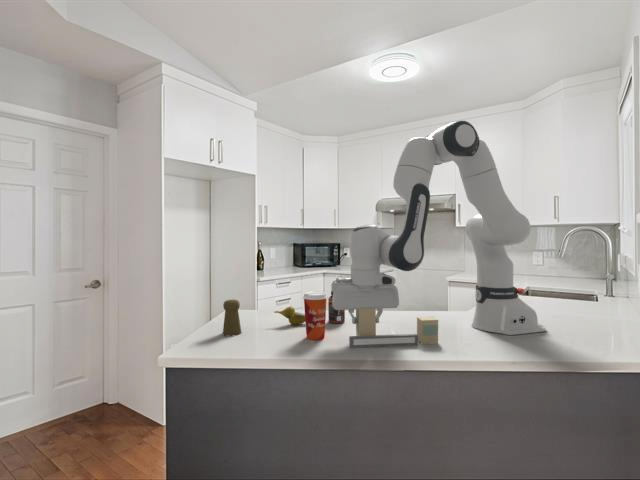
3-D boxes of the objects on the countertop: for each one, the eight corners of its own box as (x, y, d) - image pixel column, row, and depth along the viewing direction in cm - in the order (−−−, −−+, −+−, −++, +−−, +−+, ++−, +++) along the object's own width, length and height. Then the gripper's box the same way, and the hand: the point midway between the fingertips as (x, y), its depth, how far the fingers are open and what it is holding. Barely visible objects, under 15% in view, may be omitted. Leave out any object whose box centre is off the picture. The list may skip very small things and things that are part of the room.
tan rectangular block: (372, 336, 117) (371, 305, 117) (375, 341, 112) (375, 308, 112) (355, 337, 117) (355, 305, 116) (358, 342, 112) (358, 309, 111)
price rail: (416, 343, 110) (416, 333, 110) (418, 345, 108) (418, 335, 108) (349, 346, 108) (349, 336, 108) (350, 348, 107) (350, 337, 107)
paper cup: (309, 342, 112) (309, 296, 111) (299, 336, 119) (298, 292, 118) (332, 338, 115) (332, 293, 115) (321, 332, 122) (320, 290, 122)
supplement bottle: (343, 324, 132) (343, 292, 132) (327, 323, 133) (326, 292, 133) (345, 320, 138) (345, 289, 138) (330, 319, 139) (329, 289, 139)
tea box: (432, 339, 114) (432, 316, 114) (438, 343, 110) (438, 320, 110) (417, 339, 114) (417, 317, 113) (421, 344, 110) (421, 320, 109)
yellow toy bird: (274, 324, 134) (273, 306, 133) (315, 322, 136) (315, 304, 135) (274, 327, 129) (274, 308, 129) (317, 325, 131) (317, 306, 131)
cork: (245, 331, 124) (244, 299, 124) (233, 336, 119) (233, 302, 118) (230, 329, 127) (229, 297, 126) (218, 334, 121) (217, 301, 121)
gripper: (332, 280, 110) (333, 327, 110) (400, 278, 111) (400, 324, 112) (330, 277, 116) (330, 321, 116) (394, 275, 118) (394, 319, 118)
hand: (365, 323), depth 114 cm, fingers closed on tan rectangular block, 5 cm apart
